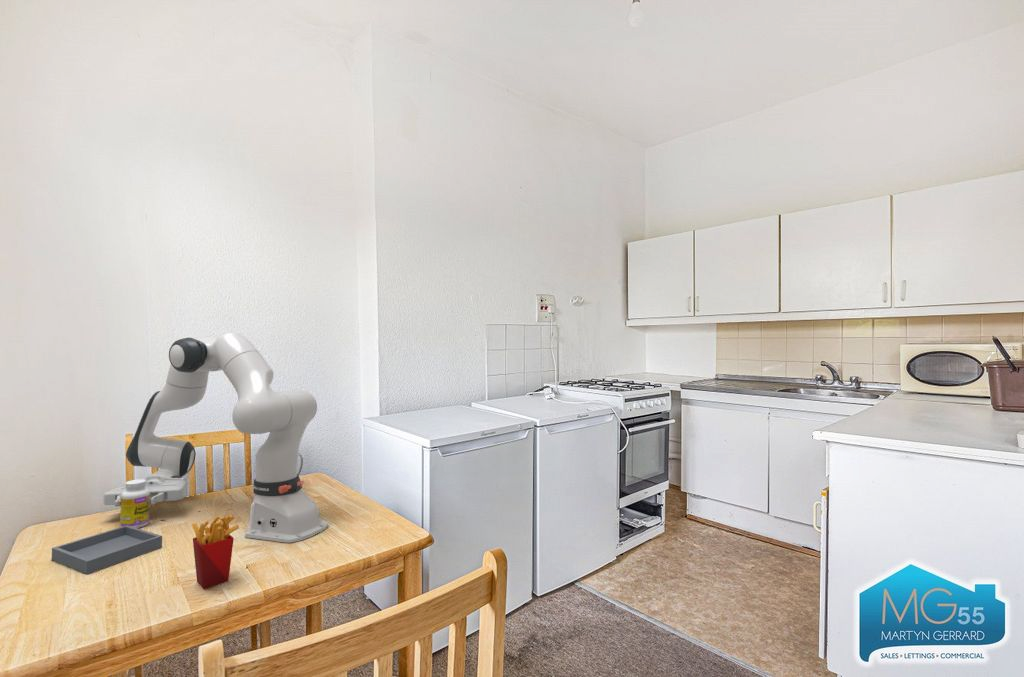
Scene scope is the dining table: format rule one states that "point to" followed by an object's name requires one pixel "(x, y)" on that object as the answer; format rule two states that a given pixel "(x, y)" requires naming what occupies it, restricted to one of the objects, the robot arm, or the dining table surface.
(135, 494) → the supplement bottle
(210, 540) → the french fries
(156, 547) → the tray
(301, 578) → the dining table surface
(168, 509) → the dining table surface
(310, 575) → the dining table surface
